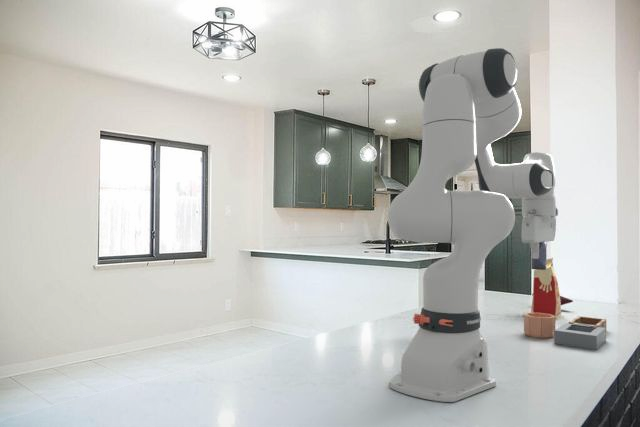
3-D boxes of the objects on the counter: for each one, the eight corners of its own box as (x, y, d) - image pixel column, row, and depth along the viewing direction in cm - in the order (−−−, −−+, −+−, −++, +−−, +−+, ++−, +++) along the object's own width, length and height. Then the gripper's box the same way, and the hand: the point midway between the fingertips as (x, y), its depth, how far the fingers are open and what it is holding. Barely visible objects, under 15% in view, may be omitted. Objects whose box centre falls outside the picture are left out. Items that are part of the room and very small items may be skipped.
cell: (544, 270, 138) (544, 239, 138) (529, 269, 141) (529, 239, 141) (548, 268, 141) (548, 239, 141) (533, 268, 144) (533, 238, 144)
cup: (550, 339, 135) (550, 319, 135) (521, 335, 140) (520, 315, 140) (557, 334, 141) (557, 314, 141) (529, 330, 146) (529, 311, 146)
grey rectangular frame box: (596, 349, 124) (596, 334, 124) (554, 343, 131) (554, 328, 131) (605, 340, 134) (605, 326, 134) (565, 335, 140) (565, 321, 140)
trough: (598, 338, 136) (597, 326, 137) (568, 334, 141) (568, 322, 141) (606, 330, 146) (606, 319, 146) (578, 327, 151) (578, 316, 151)
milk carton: (561, 315, 170) (560, 257, 171) (557, 319, 163) (557, 259, 163) (532, 312, 175) (532, 256, 176) (528, 316, 168) (527, 258, 168)
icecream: (577, 292, 179) (537, 292, 191) (568, 289, 175) (527, 288, 186) (577, 312, 178) (536, 310, 189) (568, 309, 173) (527, 307, 184)
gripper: (539, 209, 131) (539, 261, 131) (559, 210, 147) (560, 256, 147) (515, 209, 135) (515, 259, 135) (537, 210, 151) (537, 255, 151)
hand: (538, 258), depth 141 cm, fingers closed on cell, 4 cm apart
